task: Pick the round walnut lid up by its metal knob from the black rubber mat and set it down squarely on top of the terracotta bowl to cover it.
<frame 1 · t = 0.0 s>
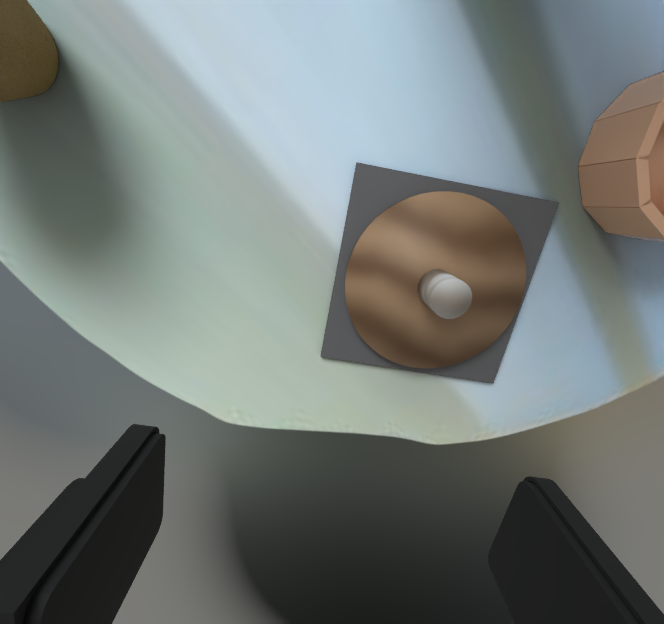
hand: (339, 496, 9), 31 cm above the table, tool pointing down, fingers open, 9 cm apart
plant pot: (19, 55, 32), on the table
bowl: (656, 159, 36), on the table
lid: (432, 284, 39), point 1 cm above the table, touching mat
mat: (430, 283, 39), on the table
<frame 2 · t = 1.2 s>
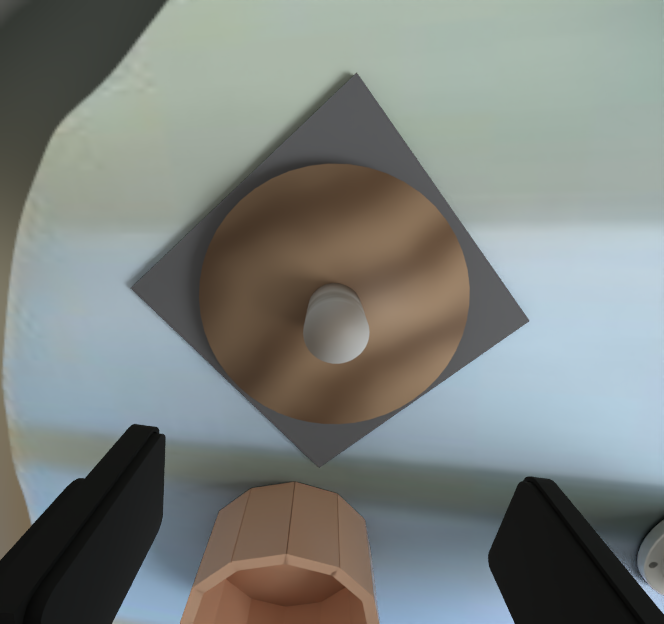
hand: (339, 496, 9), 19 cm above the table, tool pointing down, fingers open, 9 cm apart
bowl: (290, 546, 35), on the table
lid: (334, 304, 26), point 1 cm above the table, touching mat
mat: (334, 302, 27), on the table
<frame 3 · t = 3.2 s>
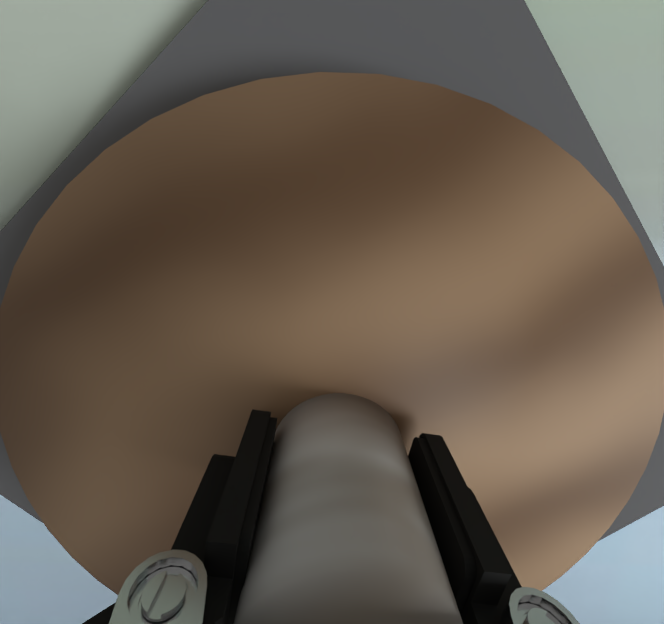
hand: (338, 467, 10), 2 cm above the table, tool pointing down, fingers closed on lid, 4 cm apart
lid: (336, 425, 12), point 1 cm above the table, touching gripper, mat
mat: (335, 415, 12), on the table
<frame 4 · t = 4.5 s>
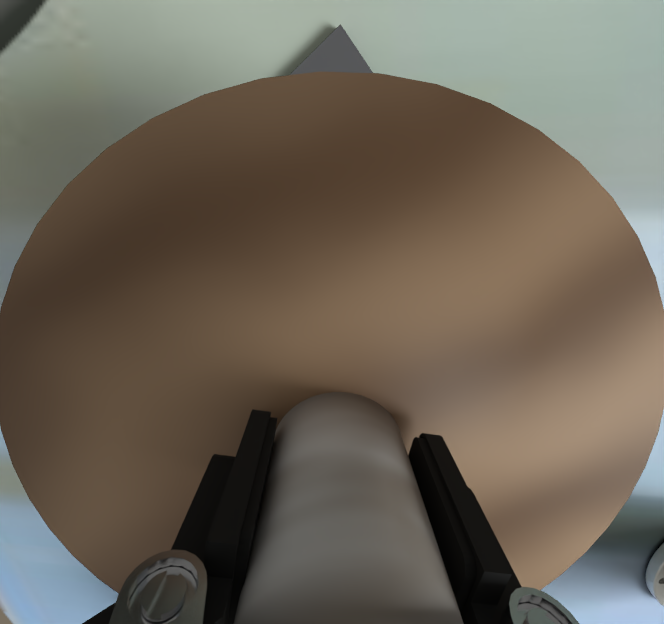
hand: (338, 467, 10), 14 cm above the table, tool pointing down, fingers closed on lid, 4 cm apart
lid: (336, 424, 12), point 12 cm above the table, touching gripper
mat: (317, 305, 23), on the table
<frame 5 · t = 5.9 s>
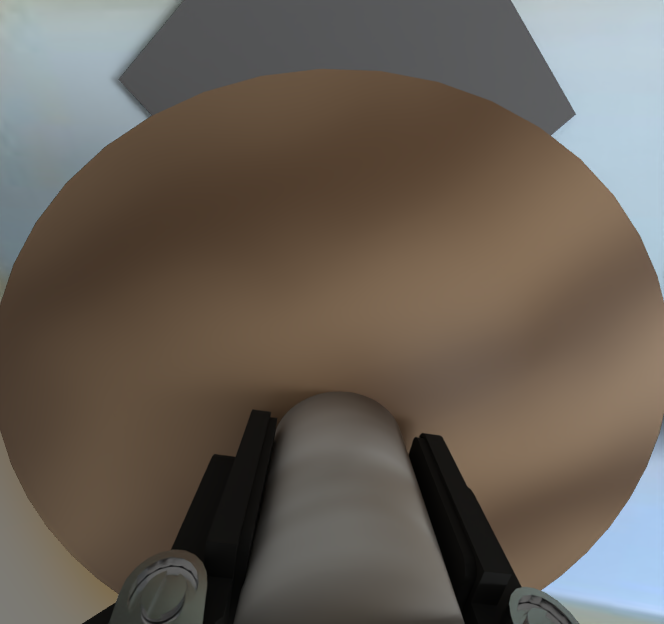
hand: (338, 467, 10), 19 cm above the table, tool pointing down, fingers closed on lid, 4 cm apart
lid: (336, 424, 12), point 17 cm above the table, touching gripper
mat: (353, 99, 24), on the table
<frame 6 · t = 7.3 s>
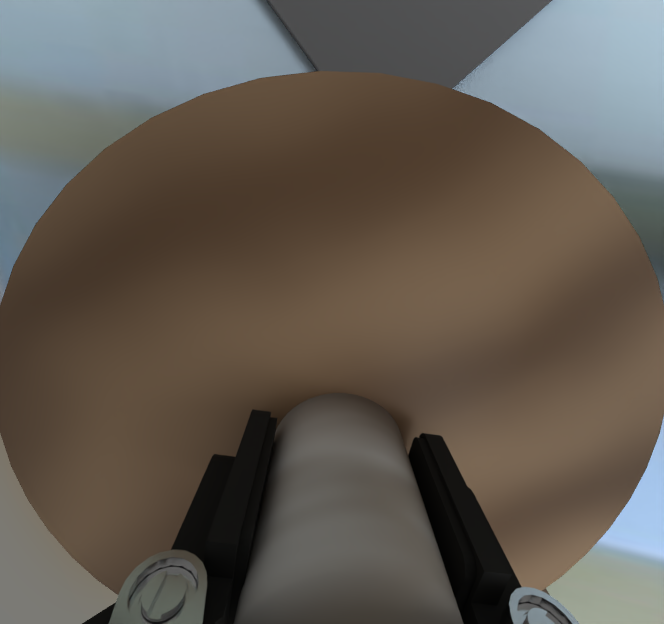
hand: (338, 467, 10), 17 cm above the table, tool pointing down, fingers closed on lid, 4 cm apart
lid: (336, 425, 12), point 15 cm above the table, touching gripper
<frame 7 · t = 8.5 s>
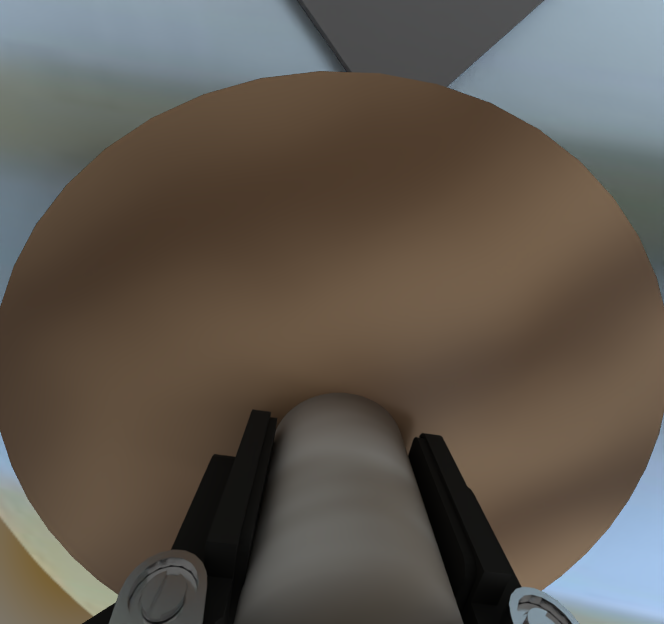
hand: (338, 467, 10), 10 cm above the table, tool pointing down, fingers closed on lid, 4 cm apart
lid: (336, 425, 12), point 8 cm above the table, touching gripper
when the fingers open (10 cm above the table, at t = 9.1 s): lid drops 1 cm, resting on bowl.
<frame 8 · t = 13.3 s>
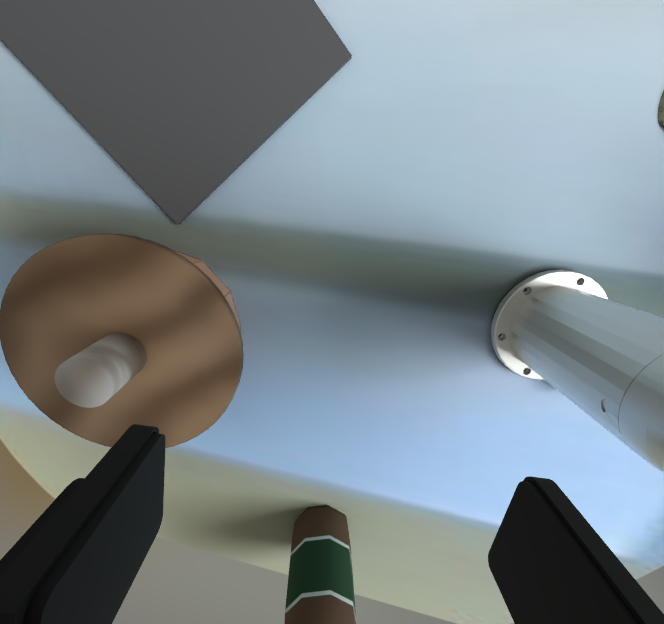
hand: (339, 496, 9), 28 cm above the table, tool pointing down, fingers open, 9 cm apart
bowl: (164, 322, 37), on the table
lid: (130, 348, 30), point 7 cm above the table, touching bowl
mat: (170, 37, 29), on the table
beer bottle: (321, 524, 47), on the table
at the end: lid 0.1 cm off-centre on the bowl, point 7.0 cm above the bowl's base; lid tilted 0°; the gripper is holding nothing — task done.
